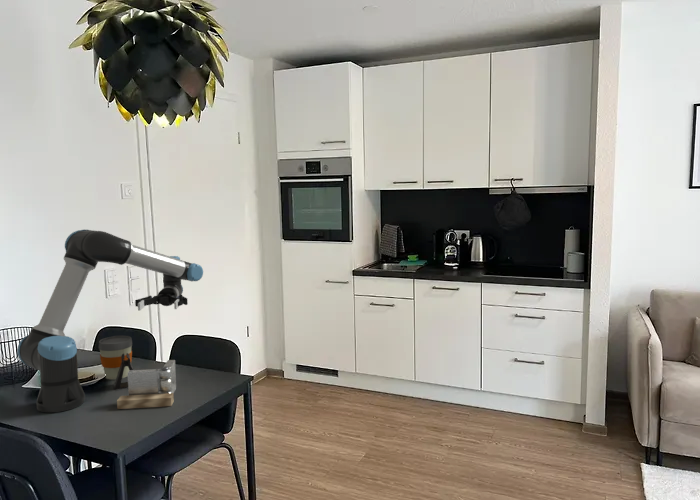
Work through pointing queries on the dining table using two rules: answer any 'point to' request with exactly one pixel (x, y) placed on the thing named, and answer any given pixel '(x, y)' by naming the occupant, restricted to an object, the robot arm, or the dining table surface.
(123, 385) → the dark forked stand
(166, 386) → the loose hinge leaf
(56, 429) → the dining table surface
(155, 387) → the fixed steel leaf
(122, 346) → the reusable coffee cup
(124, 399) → the oak sill
